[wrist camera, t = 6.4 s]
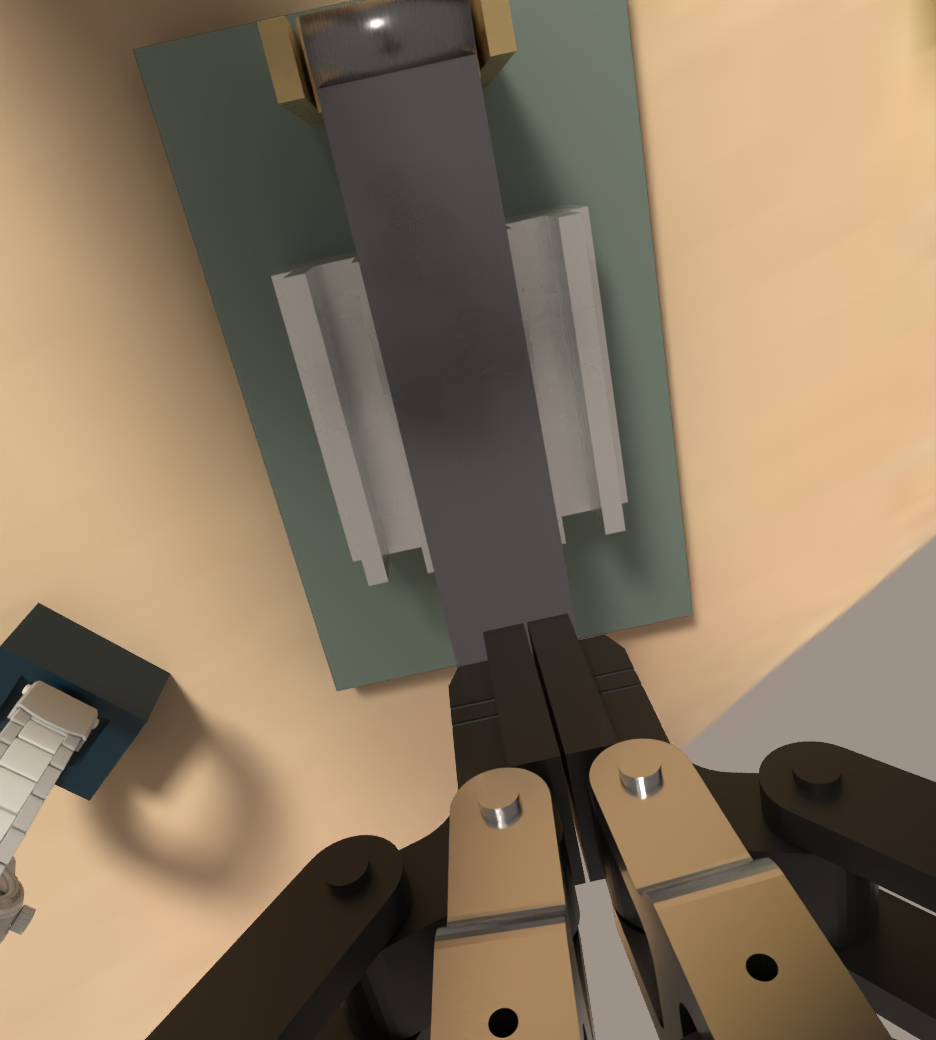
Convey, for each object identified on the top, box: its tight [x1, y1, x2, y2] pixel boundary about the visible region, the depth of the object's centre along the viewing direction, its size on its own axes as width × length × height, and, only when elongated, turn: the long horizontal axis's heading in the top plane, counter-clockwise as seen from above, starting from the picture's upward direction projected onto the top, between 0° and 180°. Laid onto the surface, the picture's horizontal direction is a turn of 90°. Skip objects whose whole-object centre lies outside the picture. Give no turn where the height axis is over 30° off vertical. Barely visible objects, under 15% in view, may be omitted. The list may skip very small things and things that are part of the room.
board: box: [133, 0, 693, 691], centre depth 28 cm, size 22×14×2 cm, turn 11°
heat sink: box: [271, 204, 628, 586], centre depth 25 cm, size 9×9×5 cm
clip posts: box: [257, 0, 534, 659], centre depth 23 cm, size 19×5×7 cm, turn 11°
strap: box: [299, 0, 578, 667], centre depth 21 cm, size 17×4×2 cm, turn 11°
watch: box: [0, 603, 170, 943], centre depth 27 cm, size 6×8×11 cm
